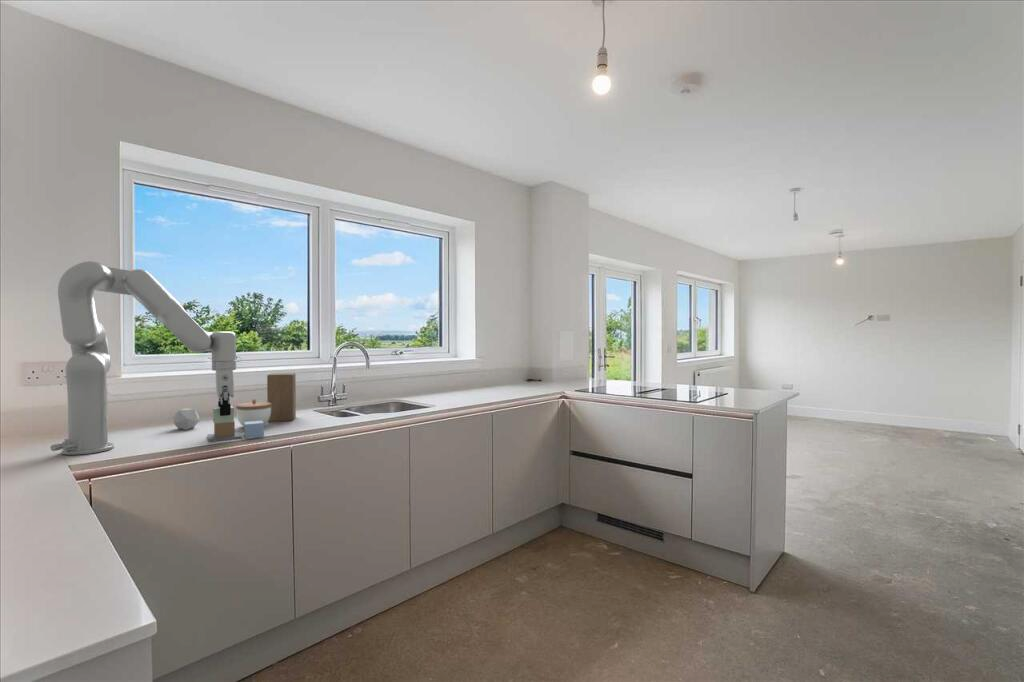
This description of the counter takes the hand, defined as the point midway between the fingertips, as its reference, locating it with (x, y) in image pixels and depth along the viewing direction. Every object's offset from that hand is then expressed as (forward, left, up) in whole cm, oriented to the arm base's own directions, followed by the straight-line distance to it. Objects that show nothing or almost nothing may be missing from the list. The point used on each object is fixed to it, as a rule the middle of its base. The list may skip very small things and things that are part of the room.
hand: (224, 413), depth 177 cm
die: (+11, +27, -9) cm, 30 cm away
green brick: (0, 0, -3) cm, 3 cm away
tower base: (0, 0, -9) cm, 9 cm away
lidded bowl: (+20, +4, -9) cm, 22 cm away
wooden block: (+37, +4, -9) cm, 38 cm away
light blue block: (+5, -8, -9) cm, 13 cm away
